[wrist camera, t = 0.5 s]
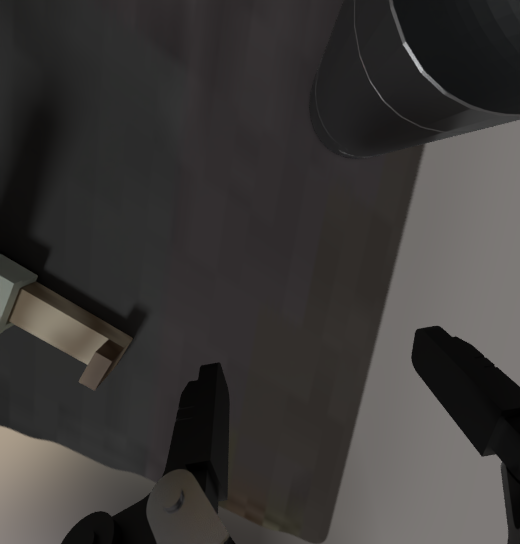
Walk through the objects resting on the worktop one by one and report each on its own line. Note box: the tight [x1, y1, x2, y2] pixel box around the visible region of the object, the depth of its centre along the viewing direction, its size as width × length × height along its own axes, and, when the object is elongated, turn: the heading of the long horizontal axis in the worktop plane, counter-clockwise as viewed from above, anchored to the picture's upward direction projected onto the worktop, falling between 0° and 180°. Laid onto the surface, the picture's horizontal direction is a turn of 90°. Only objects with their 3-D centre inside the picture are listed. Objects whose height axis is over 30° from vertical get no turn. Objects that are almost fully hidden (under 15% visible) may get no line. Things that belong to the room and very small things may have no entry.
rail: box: [8, 281, 133, 391], centre depth 29 cm, size 25×5×4 cm, turn 55°
